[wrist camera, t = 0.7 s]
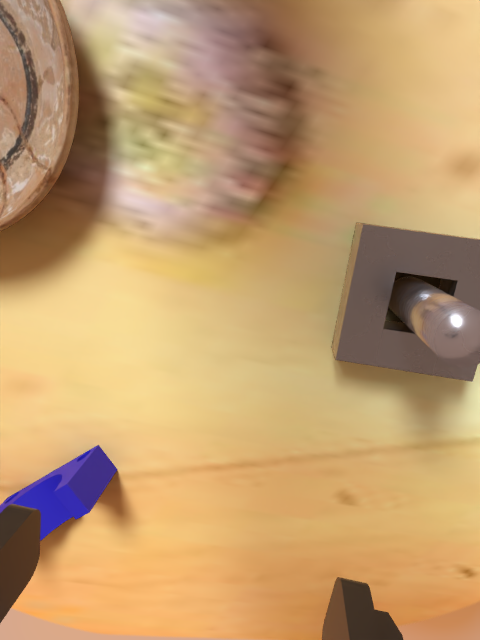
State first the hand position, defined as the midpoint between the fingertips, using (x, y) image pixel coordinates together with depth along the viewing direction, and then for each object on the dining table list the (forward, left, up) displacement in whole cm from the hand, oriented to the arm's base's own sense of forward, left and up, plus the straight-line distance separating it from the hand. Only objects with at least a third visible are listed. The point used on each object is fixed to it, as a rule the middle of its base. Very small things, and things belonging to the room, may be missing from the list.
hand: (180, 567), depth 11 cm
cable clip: (+20, -16, -25) cm, 35 cm away
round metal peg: (-4, +12, -24) cm, 27 cm away
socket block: (-4, +12, -24) cm, 27 cm away
